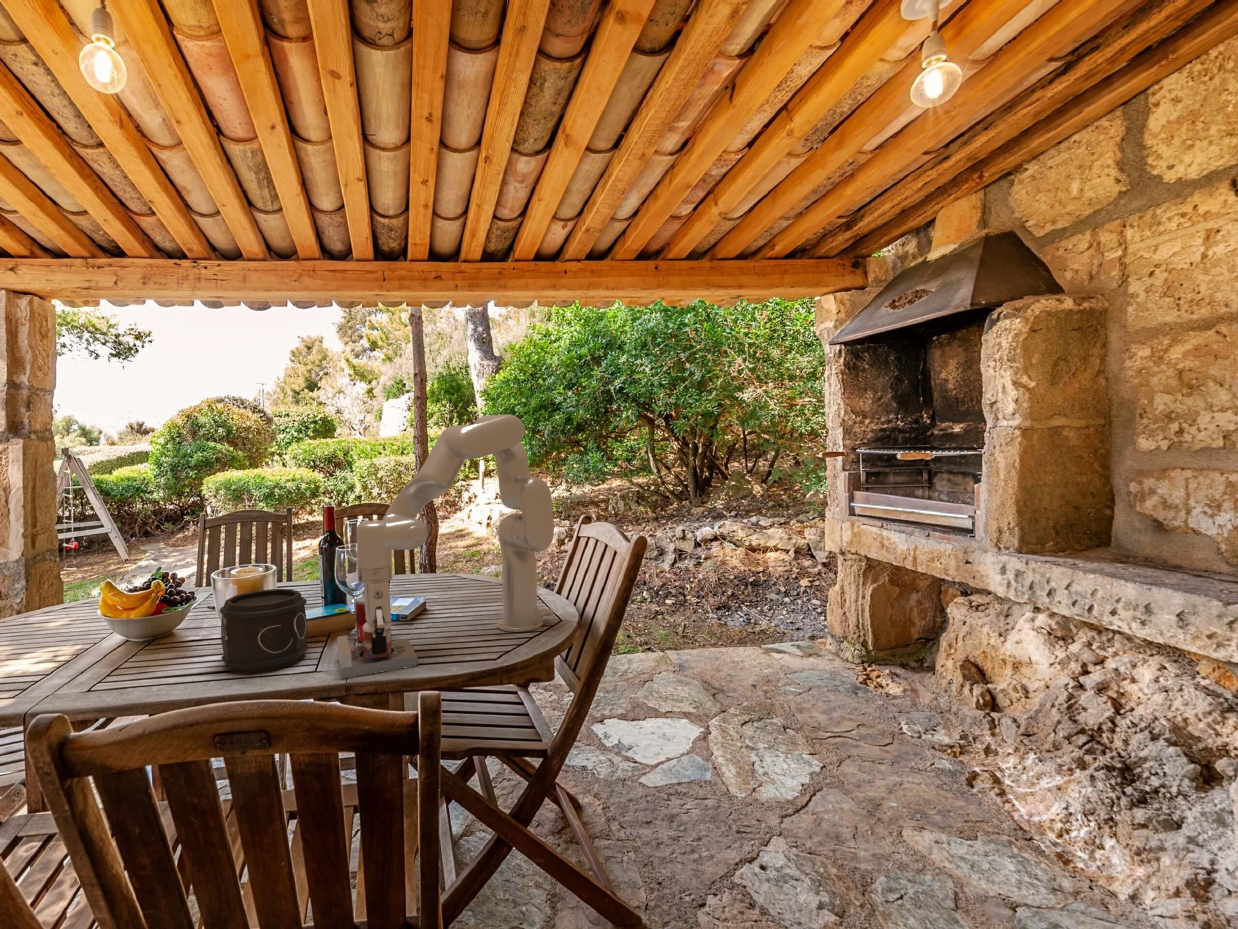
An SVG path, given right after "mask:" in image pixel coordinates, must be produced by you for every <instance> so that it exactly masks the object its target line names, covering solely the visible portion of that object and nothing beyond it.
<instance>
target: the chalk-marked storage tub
mask: <svg viewBox="0 0 1238 929" xmlns="http://www.w3.org/2000/svg"><path fill="white" fill-rule="evenodd" d="M307 603H308V602H307V600H306V598H304V597H303V596H302V594H301V592H300V591H298V590H297V589H295V590H294V589H293V588H292V589H291V588H273V589H272V588H271V589H262V590H255V591H254V590H253V591H249V592H244V593H240V594H236V595H234V596H232V597H230V598H228V599H226V600H225V601H224V605H223V606H221V607H220V608H219V613H220V614H221V623H220V624H221V625H220V638H221V647H222V652H223V655H222V656H221V661H222V662H223V663H224V664H225V666H226V667H227V669H228V670H229V671H230V673H231V674H239V675H241V674H242V675H257V674H263V673H269V672H270V673H271V672H276V671H279V670H282V669H284V668H287V666H288V667H290V665H291V666H294V665H295V664H296V663H298V662H299V661H300V660H302V659H303V657H304V655H305V652H306V651H308V649H309V645H308V644H307V634H308V629H307V628H308V627H307V615H306V614H307V613H306V607H305V606H306V604H307ZM293 664H294V665H293Z"/></svg>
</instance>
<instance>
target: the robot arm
mask: <svg viewBox="0 0 1238 929" xmlns="http://www.w3.org/2000/svg"><path fill="white" fill-rule="evenodd" d="M525 431H526V430H525V426H524V423H523V421H522V420H521V419H520V418H519V417H517V415H516V416H515V415H513V414H490V415H484V416H481V417H479V418H478V419H475V421H474V423H472V424H464V425H463V424H462V425H459V424H458V425H451V426H447V427H446V428H445V429H444V430H442V432H441V433H440V435H439V437H438V439H437V440H436V441H435V444H434V446H433V447H432V449H431V451H430V453H429V455H428V456H427V458H426V460H425V461H424V463H423V465H422V466H421V468H420V470H419V471H418V473H417V474H416V476H415V477H414V478H412V479H411V480H410V482H408V483H407V485H406V486H404V488H402V490H400V492H399V493H398V494H397V496H395V498H394V499H393V501H392V502H391V504H390V505H389V507H388V509H387V511H386V513H385V514H384V516H383V518H382V520H381V519H380V520H367V521H363V522H360V523H359V524H357V527H356V552H357V554H356V555H357V557H356V560H357V581H358V583H361V584H363V596H364V603H365V613H366V615H367V620H368V623H369V624H370V625H371V626H372V635H373V637H371V644H372V654H373V655H376V654H382V653H386V652H387V642H386V632H385V620H386V622H388V623H390V624H391V622H392V612H391V611H392V610H391V596H390V595H391V594H390V584H389V581H391V580H393V560H392V559H393V550H394V551H395V550H399V551H400V550H404V551H407V550H415V549H418V548H420V547H421V546H422V545H424V544H425V542H426V541H427V539H428V535H429V533H428V528H427V526H426V525H425V524H424V523H423V522H422V521H421V520H419V519H417V516H418V515H419V513H420V512H421V511H422V509H423V508H425V506H426V505H428V504H429V503H430V502H431V501H433V500H435V499H436V498H439V497H441V496H442V495H444V494H446V493H447V492H448V491H449V490H450V488H451V487H452V485H453V484H454V483H455V480H456V478H457V476H458V474H459V472H460V470H461V469H462V467H463V465H464V463H465V461H466V460H472V459H473V460H474V459H475V460H476V459H480V458H483V457H487V456H491V455H493V456H494V458H495V462H496V467H497V476H498V477H497V478H498V489H499V495H500V496H499V497H500V501H501V504H503V506H504V507H505V508H508V509H511V510H516V511H517V510H518V511H521V513H519V512H518V513H511V514H508V515H507V516H505V517H504V518H503V519H502V520H501V522H500V523H499V526H498V532H497V533H498V540H499V544H500V552H501V563H502V570H501V572H502V618H500V619H499V620H498V621H497V628H498V629H500V630H501V631H504V632H508V633H509V632H512V633H518V632H519V633H520V632H521V633H522V632H523V633H524V632H529V631H533V630H537V629H539V628H541V627H542V626H543V624H544V623H543V622H544V620H543V618H544V617H551V616H552V617H553V616H554V615H555V612H554V609H553V608H547V609H546V607H543V608H539V607H538V590H537V589H538V588H537V586H538V582H537V581H538V580H537V579H538V578H537V576H538V574H537V572H538V571H537V569H538V568H537V567H538V566H537V564H538V563H537V557H536V552H537V553H539V552H544V551H545V550H547V549H549V547H550V546H551V544H552V543H553V540H554V537H555V535H554V534H555V523H554V512H553V511H554V508H553V500H552V499H553V498H552V492H551V490H550V487H549V486H548V483H547V482H546V481H545V480H543V479H542V478H541V477H537V476H531V474H530V469H529V468H530V467H529V461H528V455H527V451H526V449H525V447H524V445H523V443H522V440H523V438H525V437H524V435H525V433H526V432H525ZM375 612H376V614H375ZM384 618H385V619H384ZM374 621H377V623H375V624H374ZM375 627H377V628H376V629H375Z"/></svg>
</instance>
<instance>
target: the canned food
mask: <svg viewBox="0 0 1238 929" xmlns="http://www.w3.org/2000/svg"><path fill="white" fill-rule="evenodd" d="M355 622H356V623H355V625H356V639H357V642H359V643H360V642H361V644H363V625H364V624H365V623H366V622H367V621H366V613H365V603H364V595H362V596H359V597H357V598H355Z"/></svg>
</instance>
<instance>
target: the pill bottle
mask: <svg viewBox="0 0 1238 929" xmlns="http://www.w3.org/2000/svg"><path fill="white" fill-rule="evenodd" d="M375 614H376V612H375ZM384 619H385V618H384ZM366 621H367V622H366V623H365V624H364V625H363V643H362V645H363V658H378V657H384V656H387V655H389V654H391V641H392V627H391V626H392V625H391V622H390V623H388V622H386V620H385V632H386V642H387V652H386V653H382V654H376V655H373V654H372V644H371V637H373V635H372V626H371V625H370V624H369V623H368V620H367V615H366ZM375 623H377V621H374V624H375ZM376 628H377V627H375V629H376Z"/></svg>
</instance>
